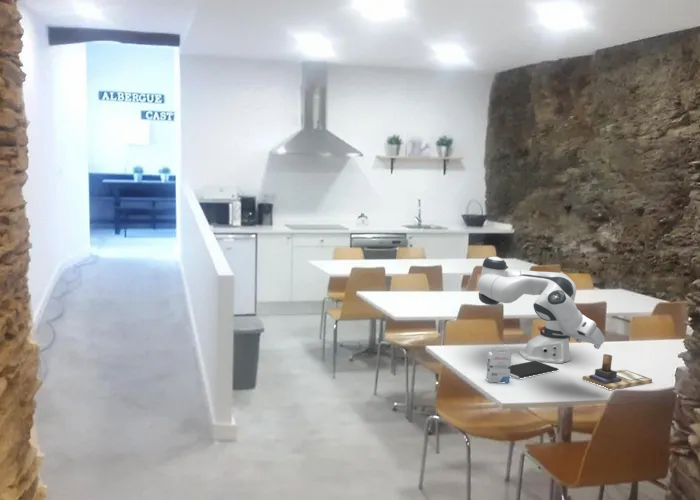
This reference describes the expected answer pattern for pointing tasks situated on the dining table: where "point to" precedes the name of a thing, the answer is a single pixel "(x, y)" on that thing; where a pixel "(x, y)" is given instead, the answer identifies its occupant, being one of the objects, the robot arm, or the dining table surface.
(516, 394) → the dining table surface
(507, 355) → the ink box
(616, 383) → the stamp board
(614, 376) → the stamp
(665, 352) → the dining table surface
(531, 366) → the black flat rectangular slab
